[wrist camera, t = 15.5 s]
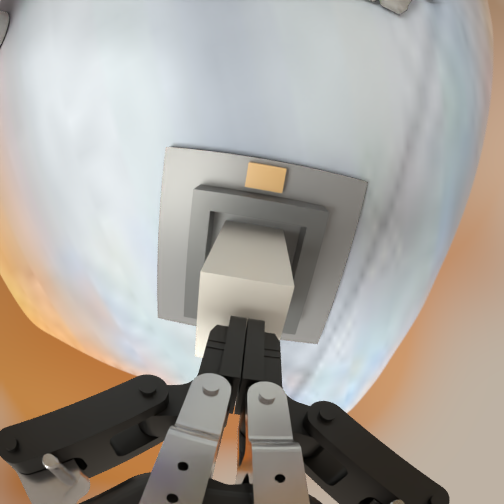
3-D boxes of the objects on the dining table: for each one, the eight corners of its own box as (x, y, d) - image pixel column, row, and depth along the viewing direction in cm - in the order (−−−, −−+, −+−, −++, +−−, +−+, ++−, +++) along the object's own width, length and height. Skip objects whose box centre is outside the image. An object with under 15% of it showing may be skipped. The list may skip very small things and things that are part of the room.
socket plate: (161, 311, 23) (150, 331, 20) (170, 146, 18) (154, 147, 15) (315, 336, 24) (320, 359, 21) (363, 180, 18) (378, 186, 15)
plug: (217, 283, 21) (194, 356, 13) (225, 220, 19) (200, 271, 11) (269, 292, 21) (271, 368, 13) (283, 229, 19) (294, 286, 12)
